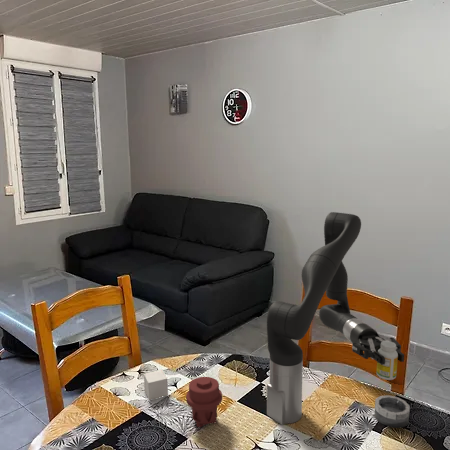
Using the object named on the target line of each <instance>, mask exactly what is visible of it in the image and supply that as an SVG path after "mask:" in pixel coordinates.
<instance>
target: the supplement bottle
mask: <svg viewBox="0 0 450 450" xmlns="http://www.w3.org/2000/svg"><path fill="white" fill-rule="evenodd" d="M378 352H379V353H380V354H381V355H382V356H384V357H385V364H384V365H381V364H380V363H378V362H377V361H376V373H375V374H376V376H377V377H379V378H380V379H382V380H386V381H387V380H388V381H392V380H394V379H396V378H397V371H398V363H399V362H398V361H399V360H398V353H397V351H396V344H395V343H393V342H391V341H382V342H381V348H380V349H379V350H378Z"/></svg>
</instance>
